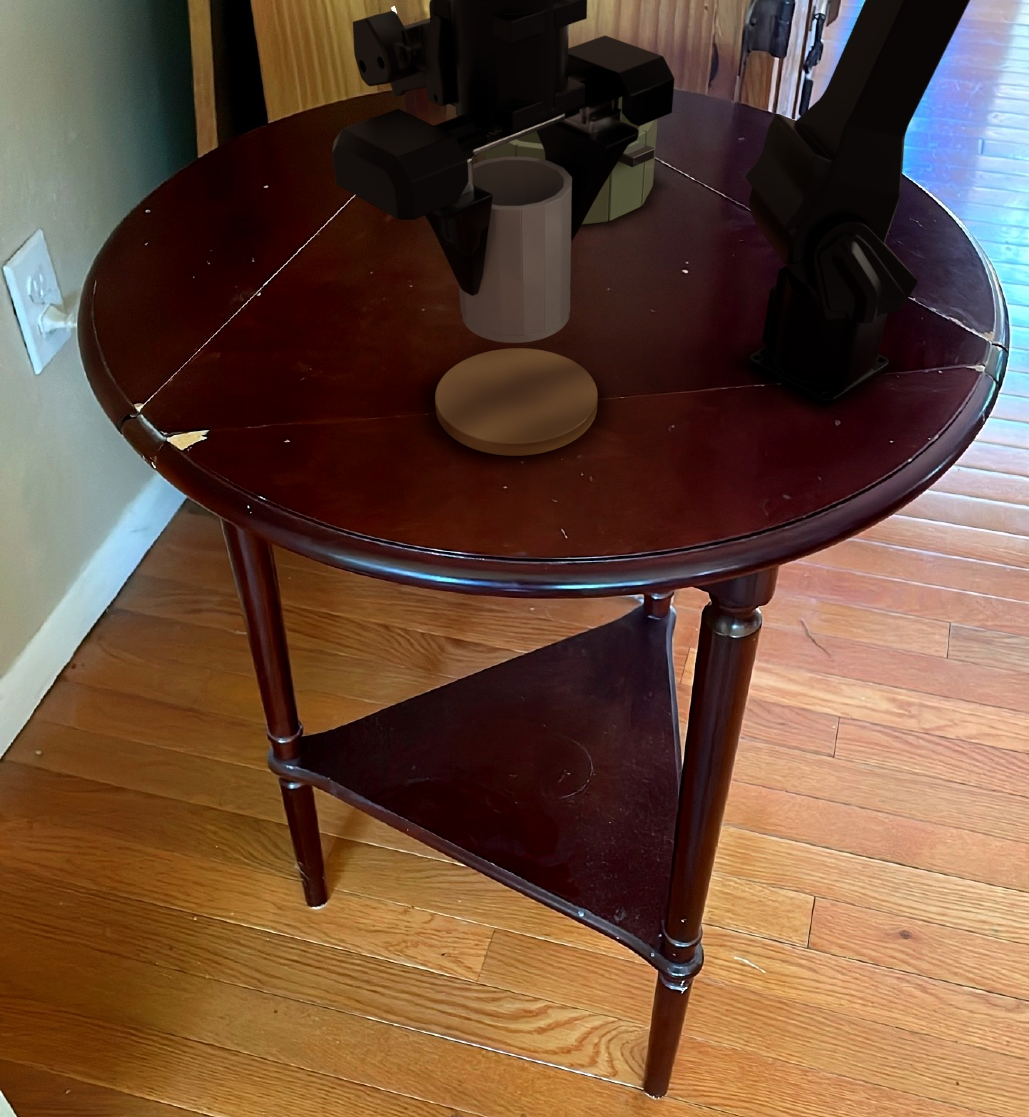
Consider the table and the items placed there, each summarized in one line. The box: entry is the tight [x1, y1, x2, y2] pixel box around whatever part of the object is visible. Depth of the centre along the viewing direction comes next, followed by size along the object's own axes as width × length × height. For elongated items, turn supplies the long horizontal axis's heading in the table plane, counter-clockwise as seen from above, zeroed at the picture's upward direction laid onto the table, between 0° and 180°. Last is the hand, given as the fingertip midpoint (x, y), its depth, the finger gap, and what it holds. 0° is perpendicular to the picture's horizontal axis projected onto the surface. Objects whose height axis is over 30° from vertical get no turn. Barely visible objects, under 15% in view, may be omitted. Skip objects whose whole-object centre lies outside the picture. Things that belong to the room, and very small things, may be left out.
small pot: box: [458, 157, 572, 344], centre depth 62 cm, size 6×6×8 cm
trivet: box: [434, 347, 599, 457], centre depth 69 cm, size 10×10×1 cm
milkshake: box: [390, 5, 448, 126], centre depth 96 cm, size 4×5×10 cm
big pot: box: [476, 97, 658, 225], centre depth 89 cm, size 17×14×6 cm
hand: (515, 270), depth 63 cm, fingers closed on small pot, 6 cm apart
